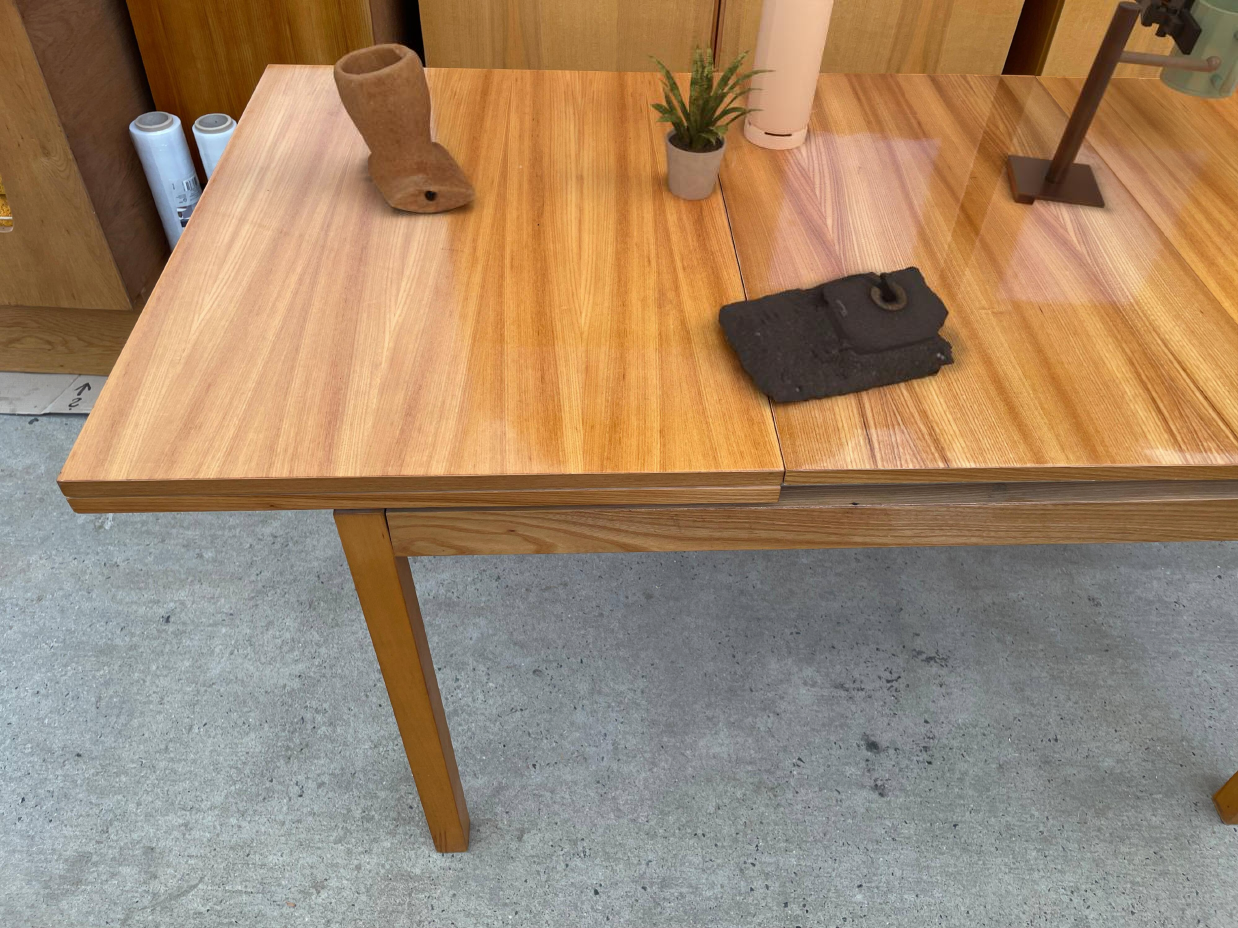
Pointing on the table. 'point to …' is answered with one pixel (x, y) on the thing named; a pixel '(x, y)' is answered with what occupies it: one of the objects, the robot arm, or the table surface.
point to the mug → (1209, 52)
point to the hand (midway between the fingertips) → (1234, 47)
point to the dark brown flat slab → (840, 335)
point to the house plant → (699, 125)
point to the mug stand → (1089, 120)
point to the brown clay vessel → (399, 129)
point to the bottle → (786, 71)
